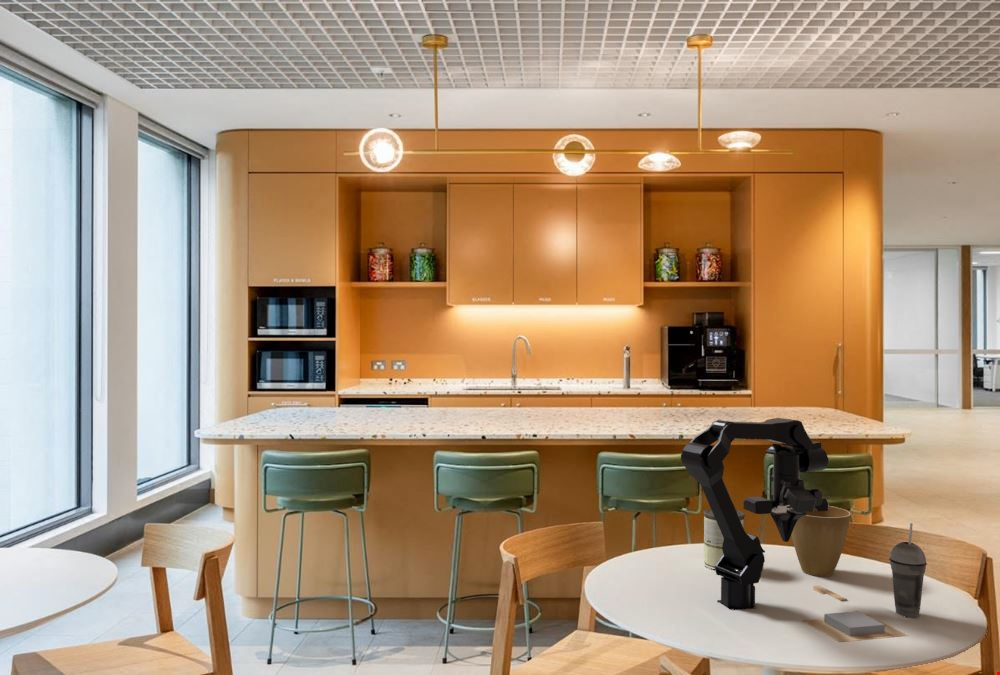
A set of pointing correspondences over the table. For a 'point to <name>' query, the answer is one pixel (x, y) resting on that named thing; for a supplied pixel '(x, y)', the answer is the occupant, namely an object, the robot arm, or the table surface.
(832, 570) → the plant pot
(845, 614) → the slate tile
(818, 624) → the cork mat
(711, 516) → the coffee can
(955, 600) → the table surface
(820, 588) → the wooden turner
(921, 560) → the beverage cup
